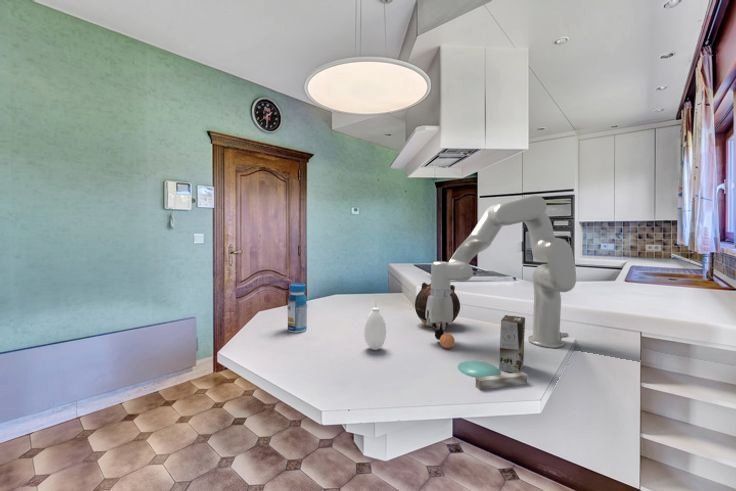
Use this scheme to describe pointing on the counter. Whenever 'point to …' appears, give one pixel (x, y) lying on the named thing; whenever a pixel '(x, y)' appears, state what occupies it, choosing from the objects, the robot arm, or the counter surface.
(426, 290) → the ceramic vessel
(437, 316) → the robot arm
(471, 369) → the teal disc
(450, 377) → the counter surface
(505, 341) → the coffee box
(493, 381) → the strip
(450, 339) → the ball
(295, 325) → the beverage bottle
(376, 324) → the sauce bottle
